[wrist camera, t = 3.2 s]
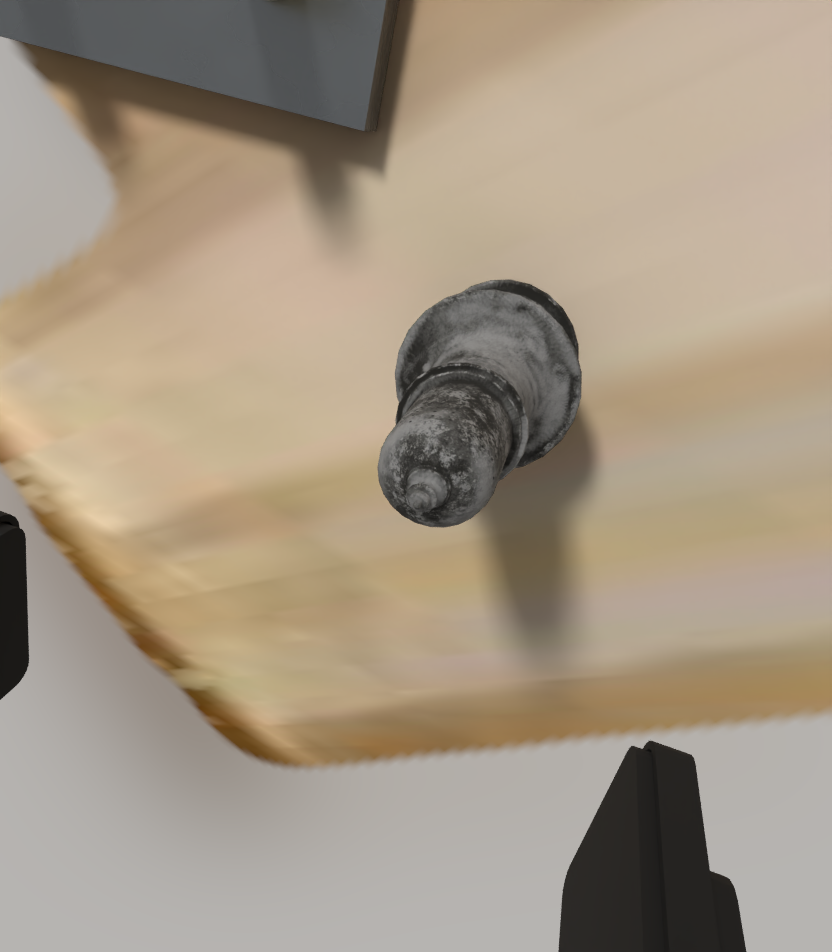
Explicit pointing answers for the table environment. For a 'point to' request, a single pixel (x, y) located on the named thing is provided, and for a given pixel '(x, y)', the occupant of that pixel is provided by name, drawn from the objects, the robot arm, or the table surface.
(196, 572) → the table surface
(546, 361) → the grey chess piece
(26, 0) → the standoff chassis
